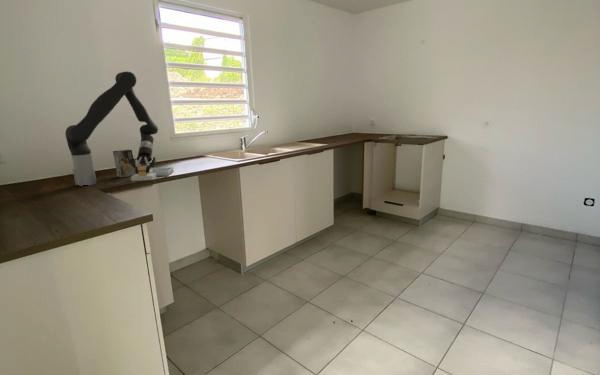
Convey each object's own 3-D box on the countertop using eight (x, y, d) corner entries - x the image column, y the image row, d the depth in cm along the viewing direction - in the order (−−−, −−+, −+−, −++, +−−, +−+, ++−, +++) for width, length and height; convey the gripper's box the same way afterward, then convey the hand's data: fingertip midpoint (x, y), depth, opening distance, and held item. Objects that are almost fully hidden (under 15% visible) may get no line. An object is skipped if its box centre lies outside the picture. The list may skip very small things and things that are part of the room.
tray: (146, 177, 199) (145, 172, 198) (152, 172, 211) (152, 168, 211) (168, 175, 200) (167, 171, 200) (173, 171, 213) (173, 167, 212)
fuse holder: (131, 180, 190) (130, 176, 189) (135, 178, 196) (135, 174, 196) (152, 179, 191) (152, 175, 190) (156, 177, 198) (155, 173, 197)
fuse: (139, 179, 193) (137, 166, 191) (140, 179, 194) (138, 165, 192) (148, 179, 193) (146, 166, 191) (148, 178, 195) (146, 165, 193)
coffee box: (131, 173, 211) (127, 149, 207) (136, 174, 207) (132, 149, 203) (116, 176, 204) (112, 151, 200) (121, 177, 200) (117, 151, 196)
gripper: (131, 146, 195) (126, 170, 187) (155, 145, 197) (152, 168, 188) (135, 154, 202) (131, 177, 193) (159, 153, 203) (156, 175, 195)
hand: (142, 172), depth 191 cm, fingers closed on fuse, 5 cm apart
